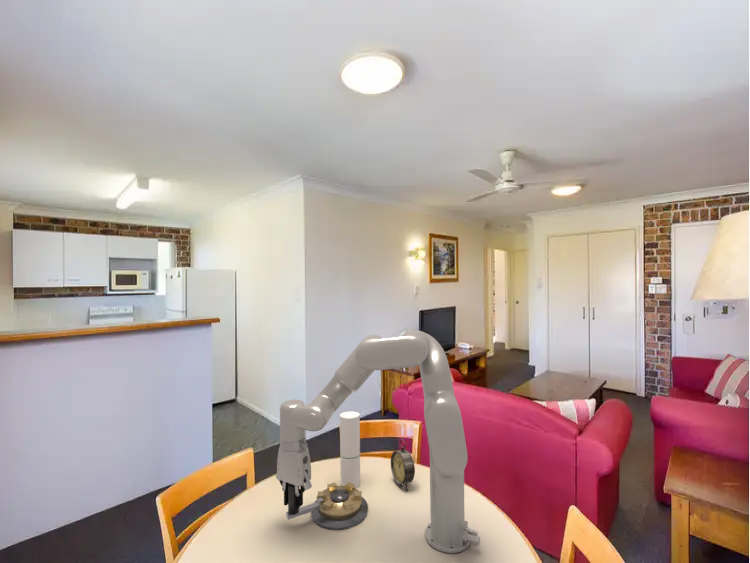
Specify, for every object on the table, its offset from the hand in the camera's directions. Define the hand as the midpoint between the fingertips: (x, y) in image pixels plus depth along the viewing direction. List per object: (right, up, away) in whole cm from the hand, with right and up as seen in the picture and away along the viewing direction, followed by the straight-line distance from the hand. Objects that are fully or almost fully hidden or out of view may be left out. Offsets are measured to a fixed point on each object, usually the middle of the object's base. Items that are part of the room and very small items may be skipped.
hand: (293, 504), depth 108 cm
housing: (+13, -7, +7) cm, 16 cm away
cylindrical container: (+15, -7, +23) cm, 29 cm away
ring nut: (+9, -5, +5) cm, 11 cm away
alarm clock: (+35, -7, +23) cm, 42 cm away
